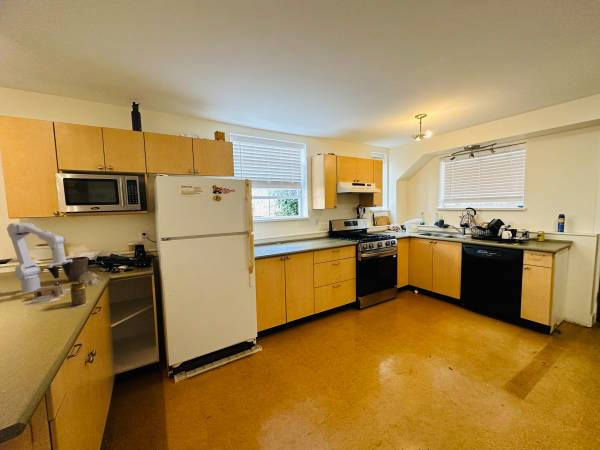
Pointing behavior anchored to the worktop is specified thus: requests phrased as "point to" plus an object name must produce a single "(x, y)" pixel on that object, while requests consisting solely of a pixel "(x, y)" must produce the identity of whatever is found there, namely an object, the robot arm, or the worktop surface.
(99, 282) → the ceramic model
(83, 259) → the plant pot
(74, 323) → the worktop surface
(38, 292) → the tunnel deck
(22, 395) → the worktop surface
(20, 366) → the worktop surface
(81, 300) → the condiment
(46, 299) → the slider frame
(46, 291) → the block
